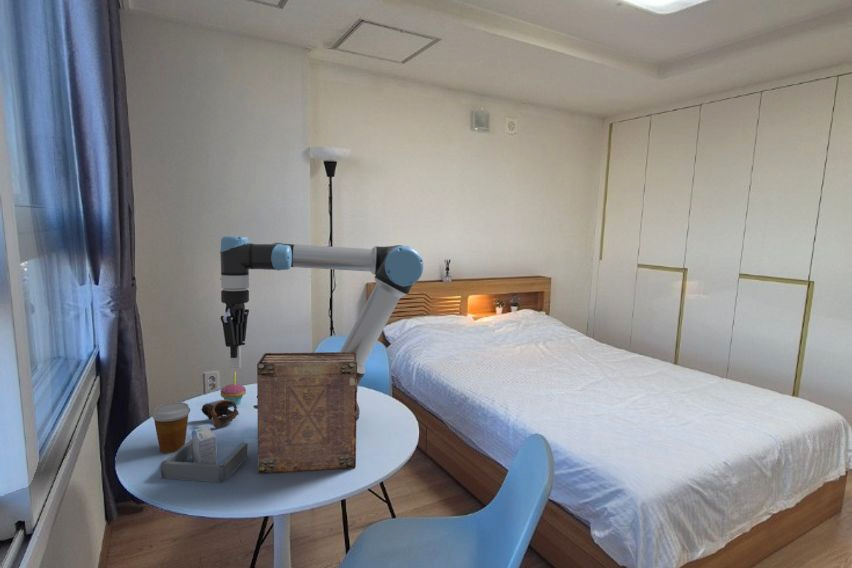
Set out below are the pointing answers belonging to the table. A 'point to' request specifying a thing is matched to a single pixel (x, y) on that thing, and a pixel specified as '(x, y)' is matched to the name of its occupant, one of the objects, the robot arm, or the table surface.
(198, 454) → the medicine box
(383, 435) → the table surface
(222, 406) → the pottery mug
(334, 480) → the table surface
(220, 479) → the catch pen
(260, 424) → the book
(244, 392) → the cupcake
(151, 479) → the table surface
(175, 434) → the disposable coffee cup
